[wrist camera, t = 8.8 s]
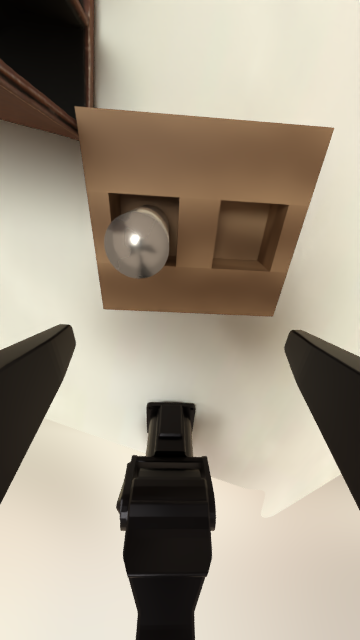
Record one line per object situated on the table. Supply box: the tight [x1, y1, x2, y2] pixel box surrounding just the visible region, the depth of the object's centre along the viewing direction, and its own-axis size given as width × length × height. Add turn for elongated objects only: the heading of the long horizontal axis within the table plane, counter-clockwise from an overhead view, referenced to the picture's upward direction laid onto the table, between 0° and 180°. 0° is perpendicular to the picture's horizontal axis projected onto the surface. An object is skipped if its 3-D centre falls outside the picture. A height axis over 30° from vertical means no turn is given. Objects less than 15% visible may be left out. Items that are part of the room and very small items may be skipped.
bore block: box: [75, 106, 334, 316], centre depth 16 cm, size 12×14×4 cm
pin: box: [104, 205, 169, 279], centre depth 13 cm, size 3×3×8 cm
